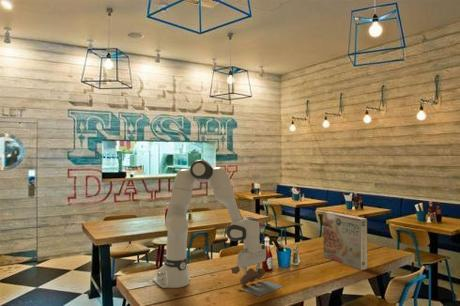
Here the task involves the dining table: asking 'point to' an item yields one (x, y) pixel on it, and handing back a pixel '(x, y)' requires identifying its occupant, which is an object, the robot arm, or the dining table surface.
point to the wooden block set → (249, 275)
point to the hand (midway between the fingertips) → (251, 272)
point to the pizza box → (345, 239)
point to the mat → (262, 288)
